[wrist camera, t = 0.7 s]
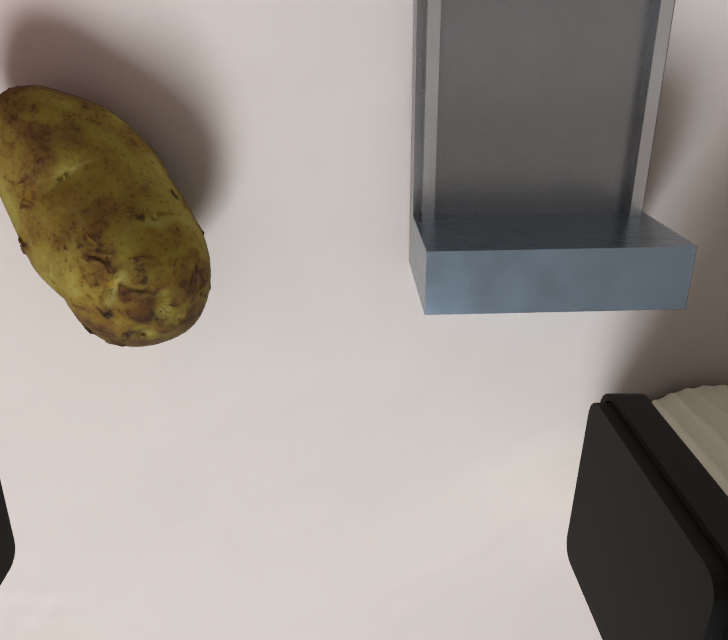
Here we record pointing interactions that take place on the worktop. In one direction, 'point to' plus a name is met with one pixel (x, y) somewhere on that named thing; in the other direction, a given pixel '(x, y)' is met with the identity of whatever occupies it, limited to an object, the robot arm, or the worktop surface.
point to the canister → (701, 425)
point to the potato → (100, 217)
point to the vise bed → (539, 157)
